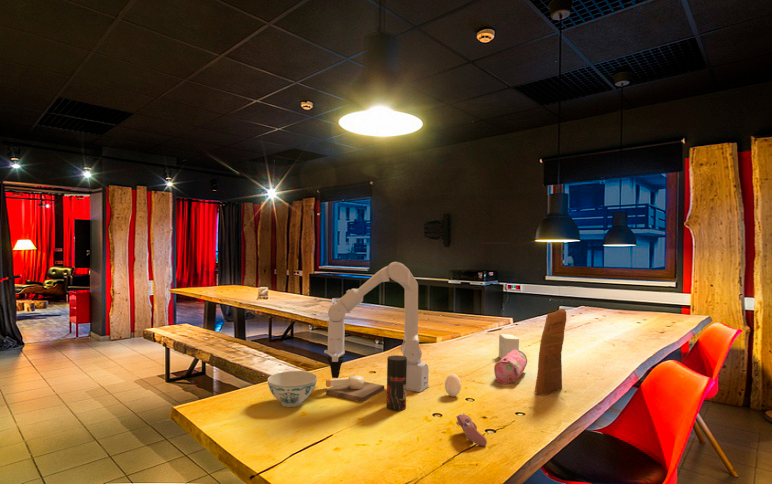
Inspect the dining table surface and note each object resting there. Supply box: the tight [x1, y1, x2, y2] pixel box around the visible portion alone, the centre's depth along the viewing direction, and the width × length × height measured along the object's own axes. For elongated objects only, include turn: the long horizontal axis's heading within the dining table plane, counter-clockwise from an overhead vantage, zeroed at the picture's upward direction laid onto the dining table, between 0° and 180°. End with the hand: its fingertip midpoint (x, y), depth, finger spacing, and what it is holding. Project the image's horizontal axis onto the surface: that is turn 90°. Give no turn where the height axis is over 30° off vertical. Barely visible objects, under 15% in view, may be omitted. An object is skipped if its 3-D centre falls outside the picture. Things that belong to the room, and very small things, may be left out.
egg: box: [444, 373, 462, 397], centre depth 142 cm, size 5×5×7 cm
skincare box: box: [498, 333, 520, 360], centre depth 192 cm, size 10×6×10 cm, turn 179°
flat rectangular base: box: [325, 381, 385, 403], centre depth 144 cm, size 14×14×2 cm
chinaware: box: [267, 370, 318, 408], centre depth 133 cm, size 15×15×8 cm
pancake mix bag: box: [534, 308, 567, 396], centre depth 150 cm, size 7×19×28 cm, turn 133°
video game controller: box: [455, 412, 488, 447], centre depth 110 cm, size 10×5×7 cm, turn 5°
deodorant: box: [386, 355, 407, 412], centre depth 131 cm, size 6×6×15 cm
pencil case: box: [493, 349, 528, 384], centre depth 165 cm, size 21×9×9 cm, turn 151°
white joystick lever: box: [325, 375, 365, 389], centre depth 143 cm, size 12×5×3 cm, turn 109°
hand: (335, 377), depth 149 cm, fingers closed
